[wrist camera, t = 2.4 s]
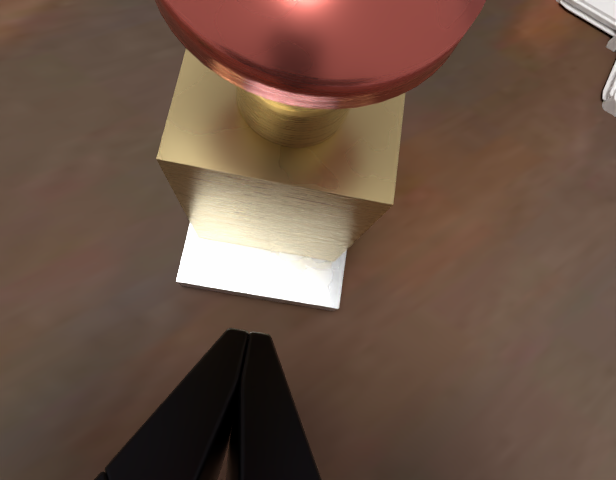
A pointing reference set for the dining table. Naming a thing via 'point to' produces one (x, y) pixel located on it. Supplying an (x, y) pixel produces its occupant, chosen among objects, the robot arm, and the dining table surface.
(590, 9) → the corner connector
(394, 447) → the dining table surface
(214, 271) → the grey ball socket brick
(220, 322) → the dining table surface
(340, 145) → the valve
